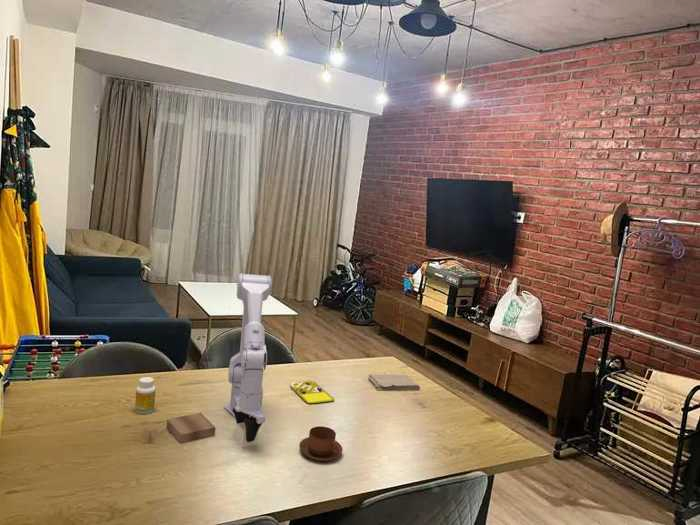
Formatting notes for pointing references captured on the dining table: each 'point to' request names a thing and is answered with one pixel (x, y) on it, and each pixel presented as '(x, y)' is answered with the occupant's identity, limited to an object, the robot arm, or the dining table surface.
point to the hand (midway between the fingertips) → (246, 436)
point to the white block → (243, 436)
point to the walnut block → (190, 427)
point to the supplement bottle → (145, 396)
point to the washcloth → (393, 383)
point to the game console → (311, 392)
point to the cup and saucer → (321, 444)
